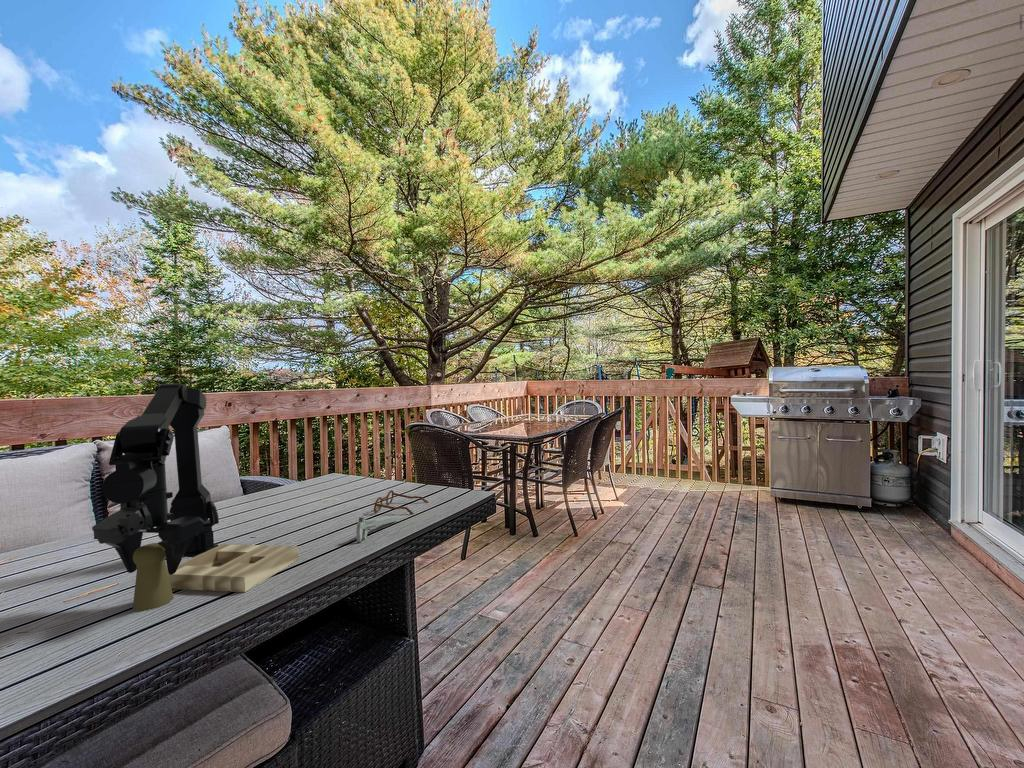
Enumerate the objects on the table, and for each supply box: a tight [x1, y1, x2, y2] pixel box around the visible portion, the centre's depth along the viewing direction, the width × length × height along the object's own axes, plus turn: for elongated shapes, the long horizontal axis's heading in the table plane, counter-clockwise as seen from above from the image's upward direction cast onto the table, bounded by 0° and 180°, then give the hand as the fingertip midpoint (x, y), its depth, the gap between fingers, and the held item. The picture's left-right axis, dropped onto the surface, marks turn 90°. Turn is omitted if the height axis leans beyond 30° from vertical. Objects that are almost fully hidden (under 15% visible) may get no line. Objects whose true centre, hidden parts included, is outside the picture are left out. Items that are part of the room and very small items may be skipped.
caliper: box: [355, 515, 403, 543], centre depth 123 cm, size 20×1×6 cm, turn 164°
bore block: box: [167, 544, 299, 593], centre depth 98 cm, size 20×16×3 cm
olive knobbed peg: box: [132, 542, 174, 612], centre depth 86 cm, size 6×6×11 cm
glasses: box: [373, 489, 430, 515], centre depth 143 cm, size 13×13×5 cm
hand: (152, 573), depth 86 cm, fingers open, 9 cm apart
